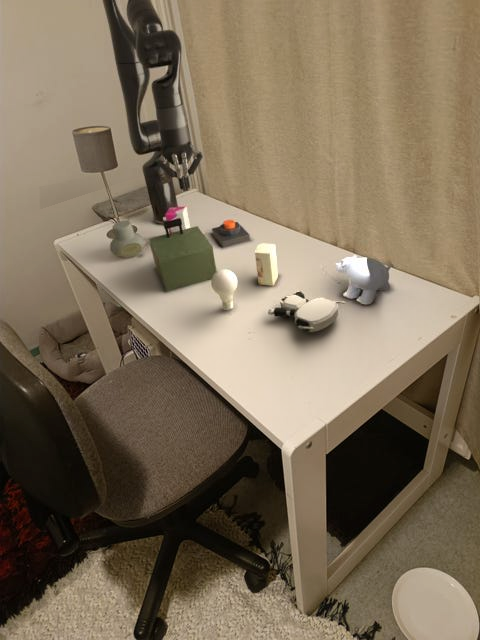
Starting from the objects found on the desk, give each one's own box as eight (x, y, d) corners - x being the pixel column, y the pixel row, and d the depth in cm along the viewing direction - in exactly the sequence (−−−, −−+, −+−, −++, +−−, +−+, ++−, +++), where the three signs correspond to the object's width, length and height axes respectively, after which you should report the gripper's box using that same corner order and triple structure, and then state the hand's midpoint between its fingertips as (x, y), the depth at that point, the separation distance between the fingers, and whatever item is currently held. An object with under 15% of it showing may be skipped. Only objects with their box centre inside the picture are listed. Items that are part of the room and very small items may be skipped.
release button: (222, 226, 141) (221, 221, 140) (232, 223, 142) (232, 218, 141) (226, 230, 138) (225, 225, 137) (236, 227, 139) (236, 222, 138)
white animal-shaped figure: (350, 271, 119) (351, 239, 113) (400, 290, 109) (404, 256, 104) (324, 288, 113) (325, 256, 108) (375, 310, 104) (378, 275, 98)
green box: (156, 269, 131) (149, 242, 126) (203, 256, 134) (198, 229, 129) (166, 291, 121) (159, 263, 115) (217, 276, 124) (212, 248, 119)
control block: (212, 234, 146) (210, 223, 143) (237, 227, 148) (236, 216, 145) (223, 248, 137) (221, 236, 135) (250, 240, 139) (248, 229, 137)
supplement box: (193, 238, 145) (186, 205, 138) (189, 247, 140) (183, 213, 133) (176, 239, 146) (169, 206, 139) (172, 248, 141) (164, 214, 134)
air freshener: (115, 263, 137) (106, 234, 131) (110, 252, 143) (101, 224, 137) (149, 253, 140) (141, 224, 134) (143, 243, 146) (135, 215, 140)
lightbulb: (222, 319, 108) (216, 281, 101) (211, 307, 112) (205, 270, 106) (245, 310, 110) (240, 272, 103) (233, 298, 114) (228, 261, 108)
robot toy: (265, 322, 106) (316, 343, 96) (263, 307, 104) (314, 327, 94) (297, 299, 112) (347, 316, 103) (296, 283, 110) (347, 300, 100)
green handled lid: (149, 241, 126) (144, 223, 123) (197, 228, 130) (194, 211, 126) (159, 263, 115) (155, 244, 112) (212, 248, 118) (209, 230, 115)
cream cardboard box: (263, 274, 122) (260, 242, 116) (278, 276, 121) (276, 243, 115) (257, 285, 118) (254, 251, 112) (273, 286, 117) (270, 253, 111)
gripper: (197, 117, 115) (207, 181, 126) (147, 125, 115) (161, 189, 125) (199, 123, 109) (210, 191, 120) (147, 131, 109) (162, 199, 119)
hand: (185, 190), depth 122 cm, fingers closed
